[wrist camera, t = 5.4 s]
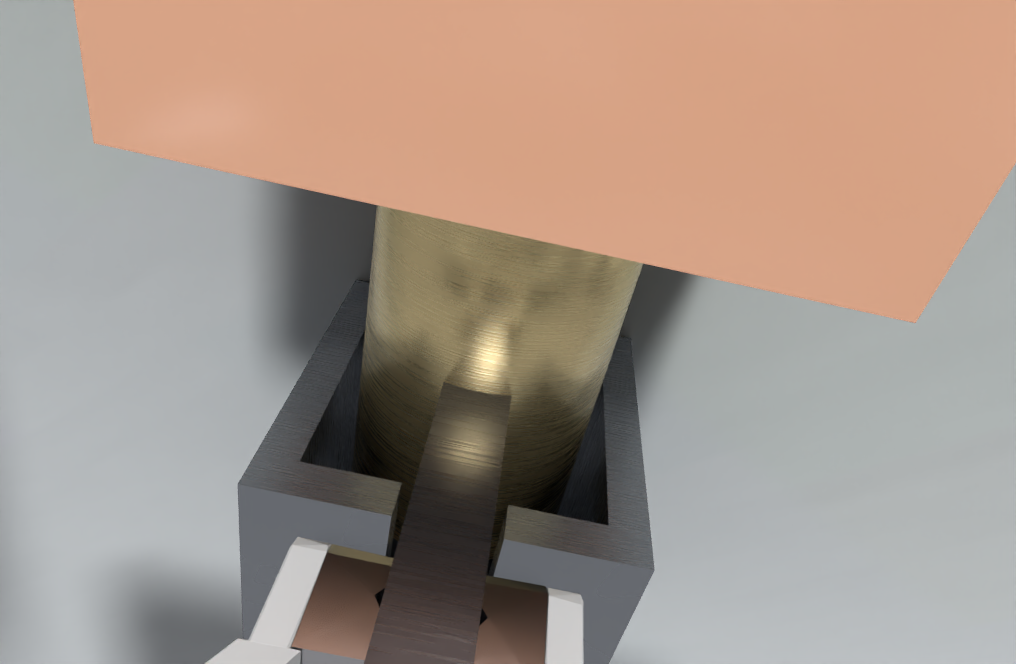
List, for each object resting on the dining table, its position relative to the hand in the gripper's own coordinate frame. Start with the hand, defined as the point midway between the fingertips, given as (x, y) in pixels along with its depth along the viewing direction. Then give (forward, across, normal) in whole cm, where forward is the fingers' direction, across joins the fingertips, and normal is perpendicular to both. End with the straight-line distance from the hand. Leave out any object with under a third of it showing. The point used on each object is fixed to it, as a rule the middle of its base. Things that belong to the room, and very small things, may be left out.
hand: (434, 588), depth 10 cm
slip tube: (+8, 0, -3) cm, 8 cm away
